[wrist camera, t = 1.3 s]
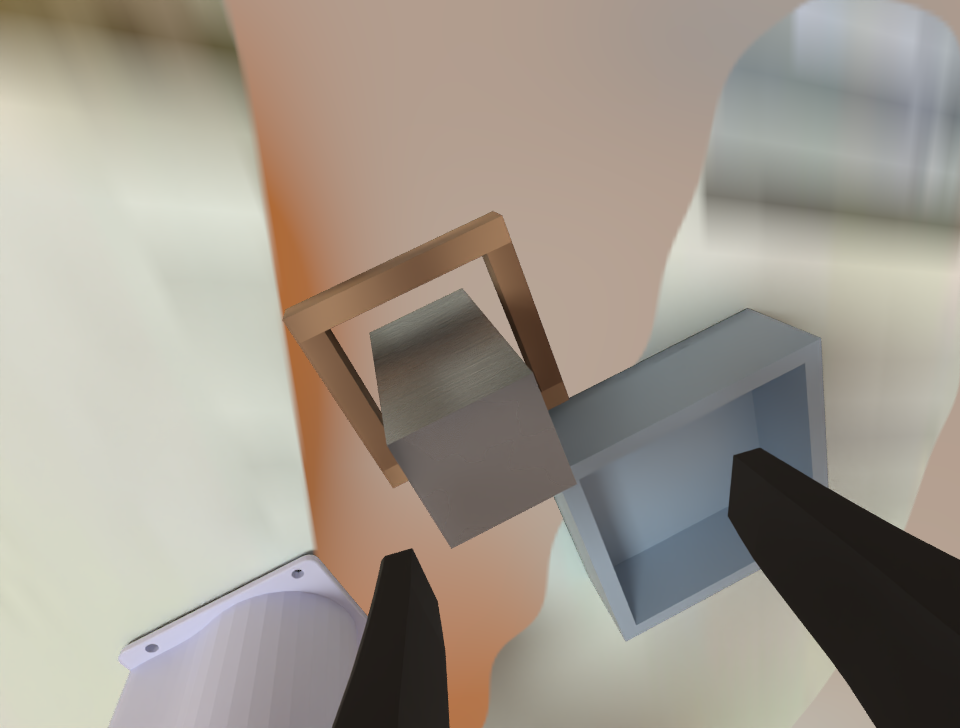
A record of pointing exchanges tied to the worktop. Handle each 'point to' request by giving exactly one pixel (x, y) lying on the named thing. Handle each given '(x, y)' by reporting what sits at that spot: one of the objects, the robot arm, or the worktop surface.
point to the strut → (465, 418)
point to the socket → (397, 278)
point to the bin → (684, 461)
